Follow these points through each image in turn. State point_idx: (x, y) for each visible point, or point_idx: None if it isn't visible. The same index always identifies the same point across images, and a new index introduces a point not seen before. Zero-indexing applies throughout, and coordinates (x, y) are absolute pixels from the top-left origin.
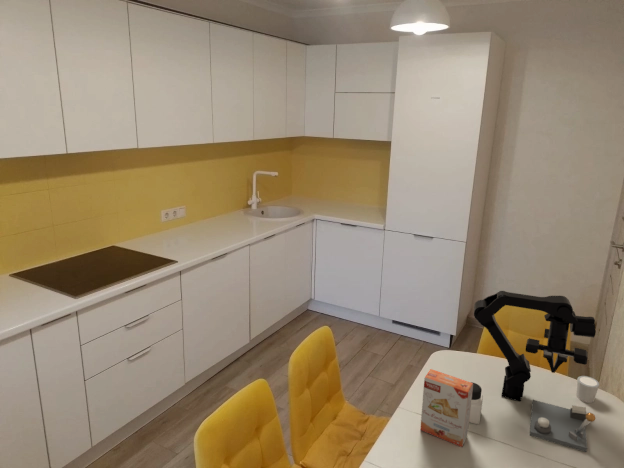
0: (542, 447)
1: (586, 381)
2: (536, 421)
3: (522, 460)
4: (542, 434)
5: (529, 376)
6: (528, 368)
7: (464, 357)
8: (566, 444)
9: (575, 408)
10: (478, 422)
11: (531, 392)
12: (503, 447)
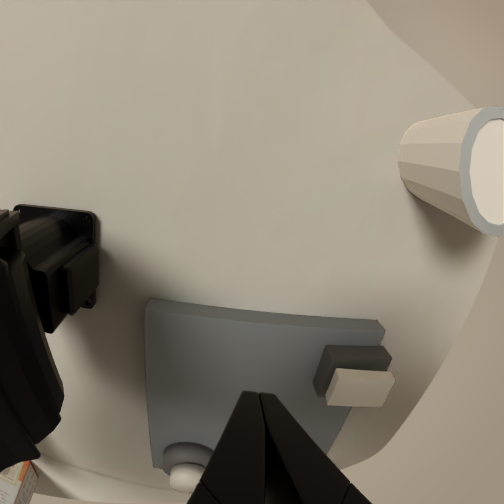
0: None
1: (495, 175)
2: (166, 461)
3: (150, 501)
4: None
5: (53, 423)
6: (9, 452)
7: None
8: None
9: (345, 396)
10: None
11: (148, 194)
12: (104, 482)
